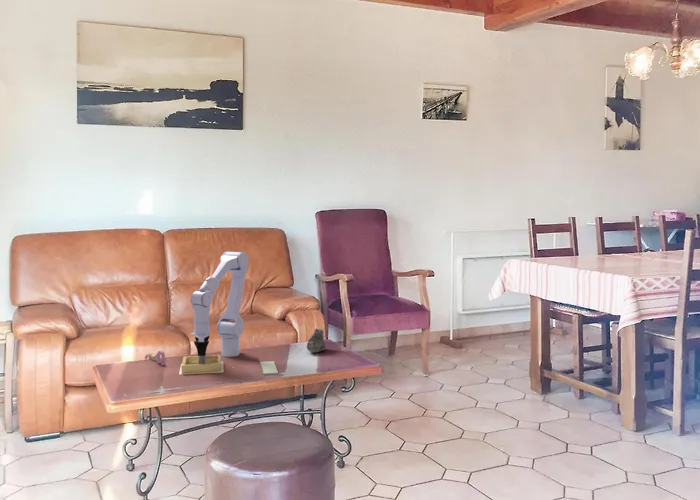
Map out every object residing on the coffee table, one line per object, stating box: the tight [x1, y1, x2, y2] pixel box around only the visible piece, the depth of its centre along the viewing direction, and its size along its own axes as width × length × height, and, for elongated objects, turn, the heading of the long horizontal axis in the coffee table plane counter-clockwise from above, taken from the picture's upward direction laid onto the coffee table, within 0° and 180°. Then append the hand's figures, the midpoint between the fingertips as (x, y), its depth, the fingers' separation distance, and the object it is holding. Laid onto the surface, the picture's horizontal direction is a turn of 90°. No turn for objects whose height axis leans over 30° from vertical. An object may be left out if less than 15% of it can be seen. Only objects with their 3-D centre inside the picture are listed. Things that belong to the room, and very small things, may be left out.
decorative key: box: [144, 350, 166, 366], centre depth 260 cm, size 7×1×20 cm
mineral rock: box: [306, 328, 327, 354], centre depth 281 cm, size 13×11×10 cm
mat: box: [259, 360, 279, 376], centre depth 252 cm, size 18×18×1 cm
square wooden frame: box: [180, 354, 222, 375], centre depth 248 cm, size 14×14×3 cm
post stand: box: [178, 355, 224, 375], centre depth 248 cm, size 16×16×6 cm
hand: (202, 356), depth 254 cm, fingers open, 7 cm apart
